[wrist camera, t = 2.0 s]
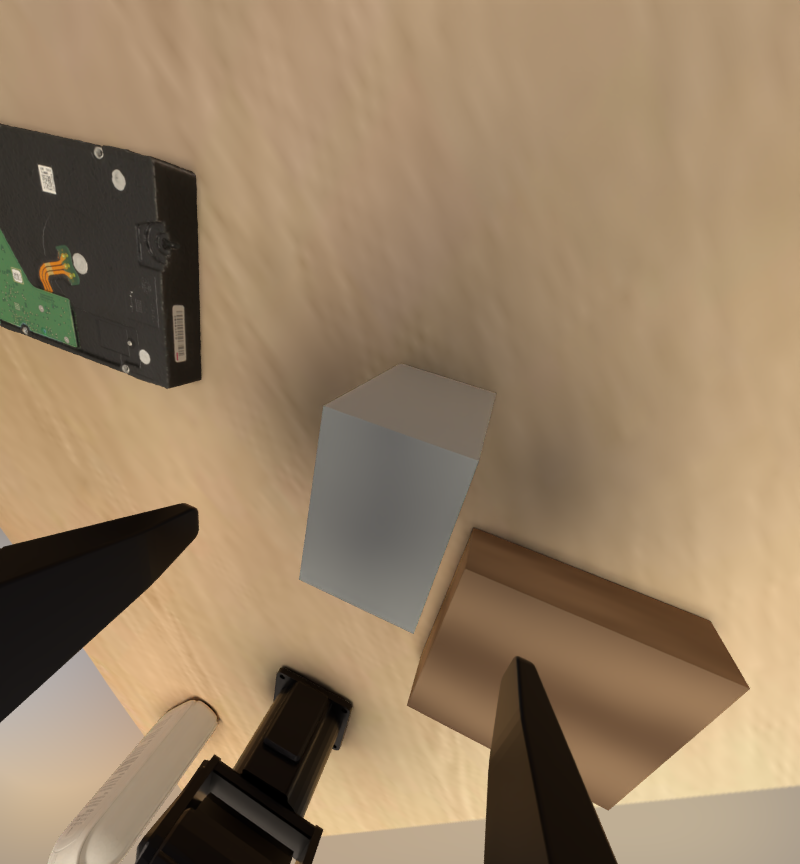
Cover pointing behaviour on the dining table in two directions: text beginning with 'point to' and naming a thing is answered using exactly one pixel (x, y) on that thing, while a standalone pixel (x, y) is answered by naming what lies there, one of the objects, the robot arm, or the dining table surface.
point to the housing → (391, 488)
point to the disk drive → (100, 254)
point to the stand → (574, 662)
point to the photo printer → (136, 789)
